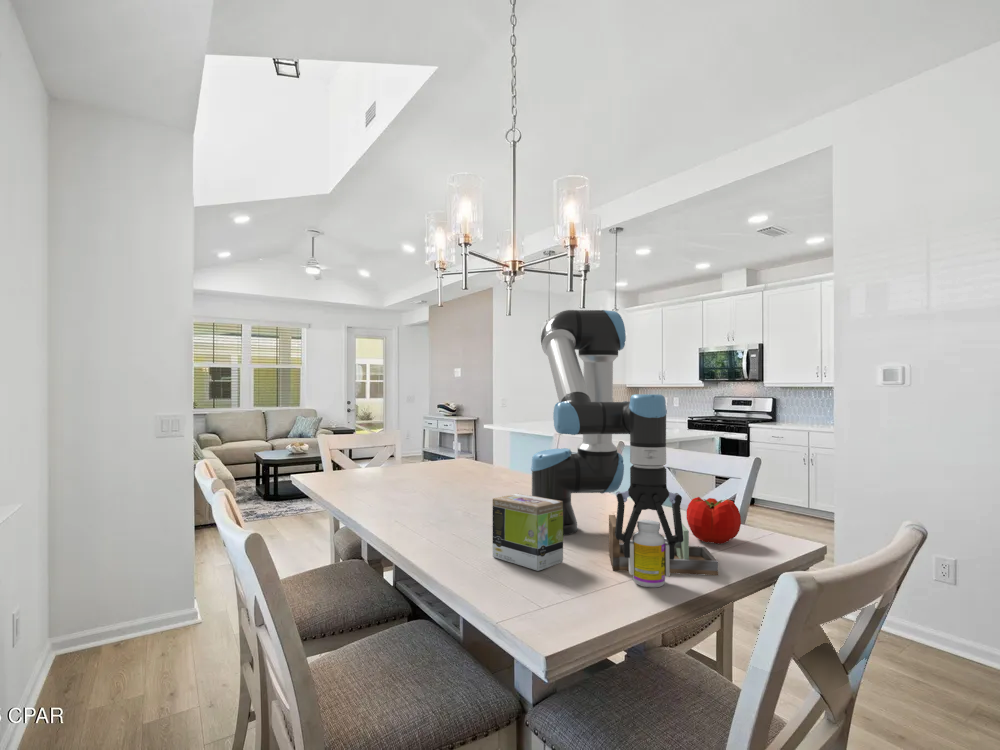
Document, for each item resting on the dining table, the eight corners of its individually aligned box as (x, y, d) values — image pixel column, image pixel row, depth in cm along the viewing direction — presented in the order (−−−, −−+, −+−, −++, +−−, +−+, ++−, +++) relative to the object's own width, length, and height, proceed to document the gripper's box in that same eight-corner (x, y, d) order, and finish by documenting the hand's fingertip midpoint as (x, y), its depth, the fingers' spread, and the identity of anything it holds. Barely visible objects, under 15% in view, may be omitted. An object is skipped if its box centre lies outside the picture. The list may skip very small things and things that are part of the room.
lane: (612, 570, 118) (612, 526, 119) (609, 555, 129) (608, 514, 130) (718, 575, 115) (717, 530, 116) (705, 559, 126) (704, 517, 127)
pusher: (666, 565, 118) (665, 530, 118) (659, 553, 127) (659, 520, 127) (689, 566, 117) (688, 530, 118) (680, 554, 126) (680, 521, 126)
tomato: (747, 540, 142) (747, 497, 142) (726, 552, 132) (726, 506, 132) (700, 531, 151) (699, 490, 151) (677, 541, 141) (676, 498, 142)
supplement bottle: (666, 589, 107) (666, 527, 107) (633, 587, 108) (633, 525, 109) (663, 578, 114) (662, 519, 114) (632, 576, 115) (631, 517, 115)
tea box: (564, 562, 124) (564, 500, 125) (537, 572, 117) (537, 507, 117) (518, 548, 135) (518, 491, 135) (490, 557, 128) (490, 497, 128)
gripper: (603, 467, 109) (603, 577, 109) (699, 469, 107) (700, 582, 106) (600, 462, 117) (601, 565, 116) (691, 464, 114) (692, 569, 114)
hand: (648, 573), depth 111 cm, fingers closed on supplement bottle, 7 cm apart
